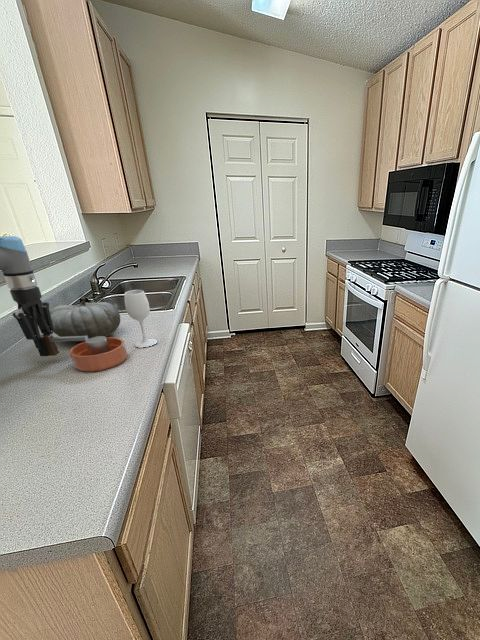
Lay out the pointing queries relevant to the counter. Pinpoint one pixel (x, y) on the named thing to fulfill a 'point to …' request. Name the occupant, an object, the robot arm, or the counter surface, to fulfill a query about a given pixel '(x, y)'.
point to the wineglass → (138, 313)
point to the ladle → (93, 344)
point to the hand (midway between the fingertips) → (47, 353)
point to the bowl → (98, 356)
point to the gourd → (85, 319)
